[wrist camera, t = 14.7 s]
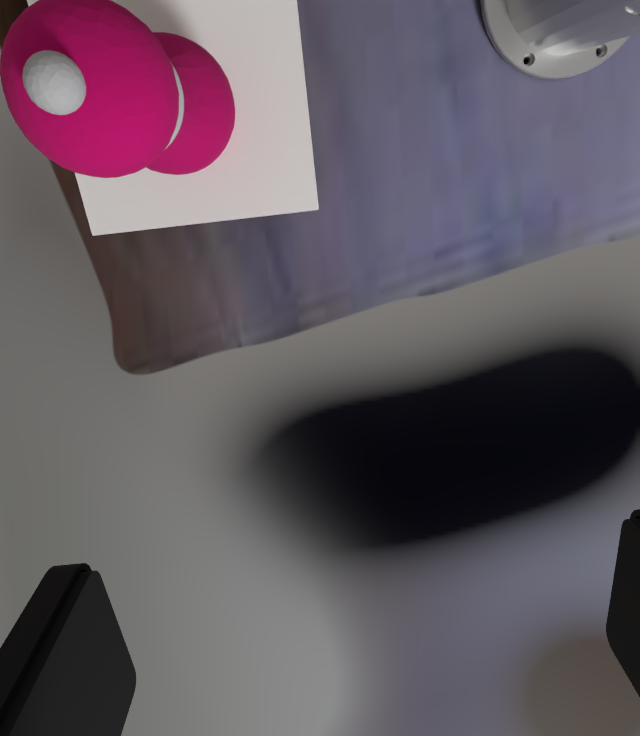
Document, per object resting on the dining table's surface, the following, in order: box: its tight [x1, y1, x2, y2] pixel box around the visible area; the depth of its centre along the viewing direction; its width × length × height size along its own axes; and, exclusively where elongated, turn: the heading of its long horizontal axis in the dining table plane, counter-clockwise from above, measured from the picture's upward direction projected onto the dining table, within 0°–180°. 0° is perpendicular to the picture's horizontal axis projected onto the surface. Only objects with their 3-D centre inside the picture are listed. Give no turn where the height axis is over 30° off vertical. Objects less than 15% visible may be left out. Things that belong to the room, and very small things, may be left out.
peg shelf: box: [27, 0, 319, 236], centre depth 38 cm, size 16×14×10 cm
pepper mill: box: [0, 0, 235, 178], centre depth 25 cm, size 7×7×20 cm
